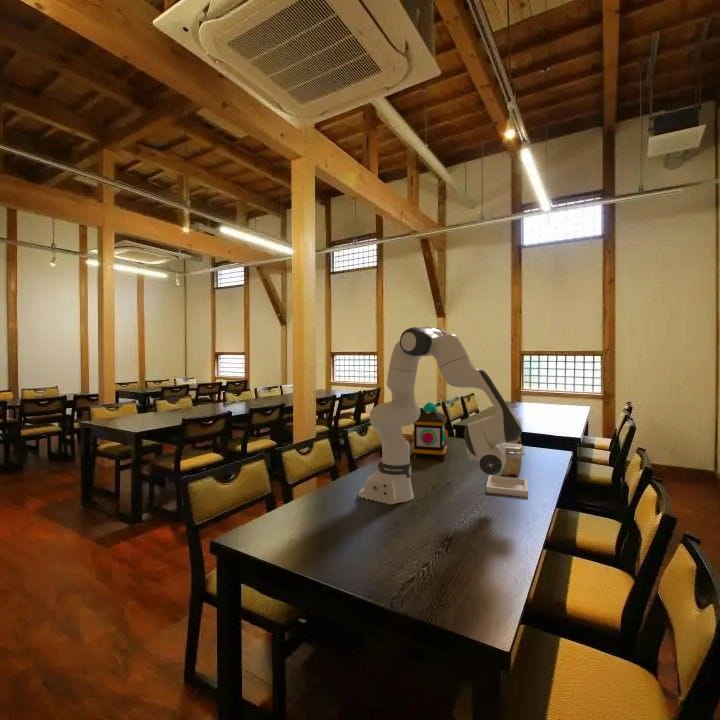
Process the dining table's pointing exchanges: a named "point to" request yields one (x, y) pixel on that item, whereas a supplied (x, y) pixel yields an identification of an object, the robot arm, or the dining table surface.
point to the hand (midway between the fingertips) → (495, 443)
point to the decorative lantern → (430, 433)
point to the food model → (512, 463)
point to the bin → (507, 486)
